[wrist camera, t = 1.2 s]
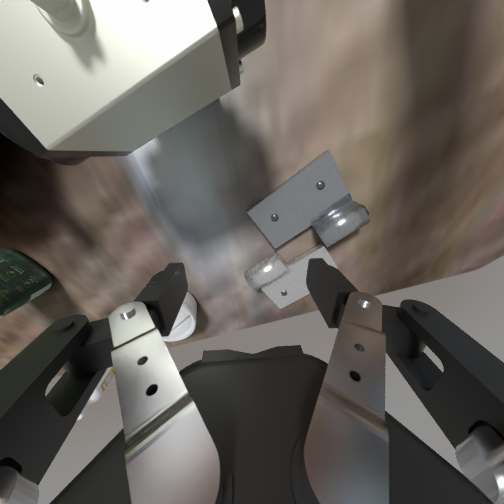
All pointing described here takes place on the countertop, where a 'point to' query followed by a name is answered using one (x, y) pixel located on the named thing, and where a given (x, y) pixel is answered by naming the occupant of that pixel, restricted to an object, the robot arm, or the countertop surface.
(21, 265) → the coffee jar
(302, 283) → the loose leaf
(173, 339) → the ramekin
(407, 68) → the countertop surface
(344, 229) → the fixed leaf
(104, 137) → the ball valve
